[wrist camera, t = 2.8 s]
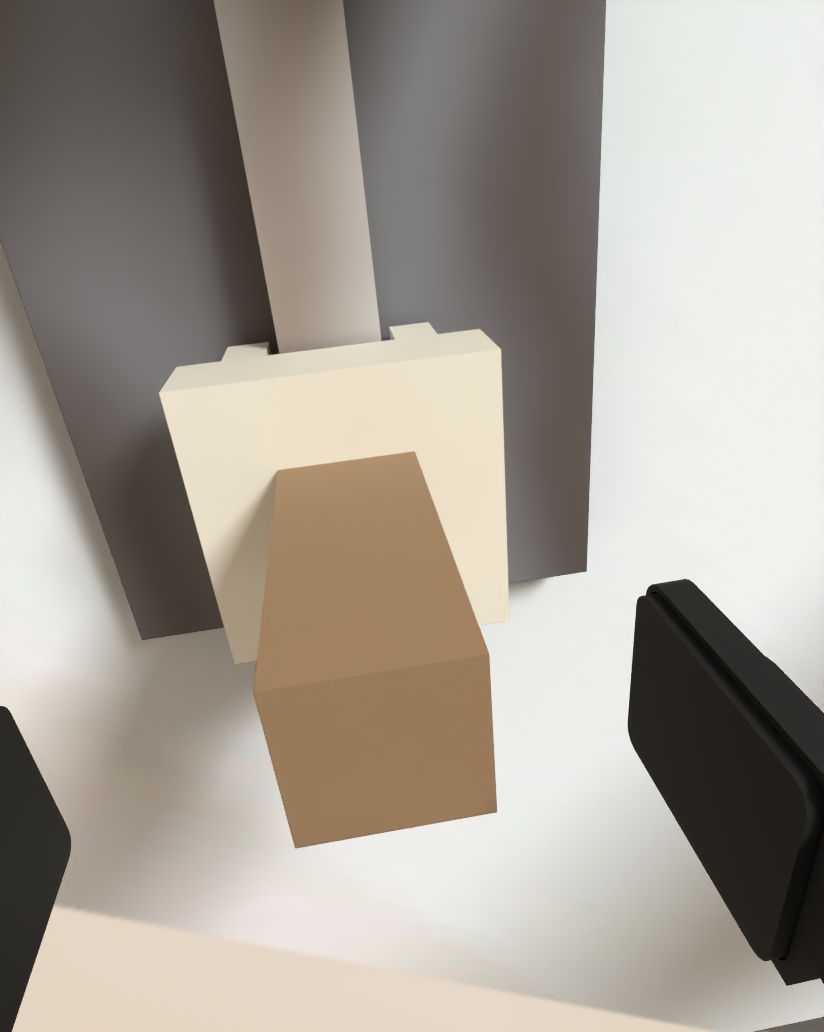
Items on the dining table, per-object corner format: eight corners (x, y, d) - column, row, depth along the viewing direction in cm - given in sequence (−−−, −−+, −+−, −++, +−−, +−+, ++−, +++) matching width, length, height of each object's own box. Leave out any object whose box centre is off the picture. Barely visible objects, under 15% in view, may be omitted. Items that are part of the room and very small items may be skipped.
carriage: (467, 317, 17) (650, 491, 8) (480, 553, 20) (619, 872, 11) (186, 351, 16) (29, 582, 7) (246, 589, 20) (189, 954, 11)
